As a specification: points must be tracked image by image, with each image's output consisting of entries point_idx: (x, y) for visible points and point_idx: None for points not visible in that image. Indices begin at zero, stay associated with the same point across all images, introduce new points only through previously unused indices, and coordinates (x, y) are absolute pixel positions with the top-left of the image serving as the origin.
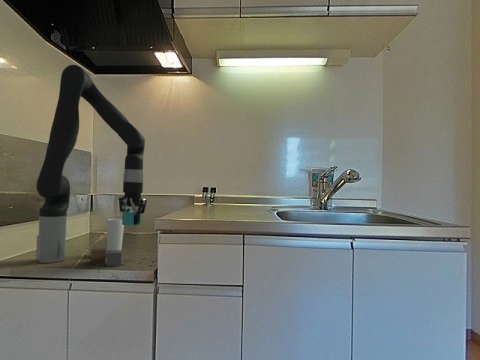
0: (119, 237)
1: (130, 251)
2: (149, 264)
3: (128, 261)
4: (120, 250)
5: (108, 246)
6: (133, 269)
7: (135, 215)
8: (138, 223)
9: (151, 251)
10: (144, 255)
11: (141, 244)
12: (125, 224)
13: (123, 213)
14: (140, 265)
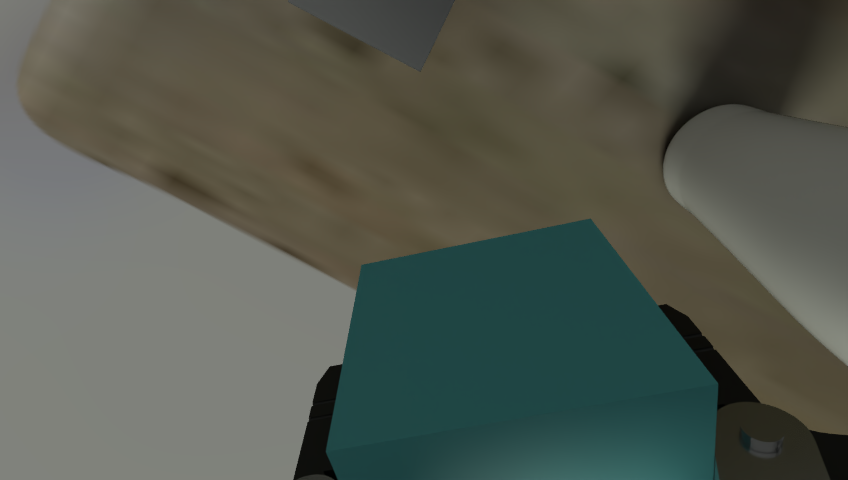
0: (741, 229)
1: (716, 305)
2: (232, 200)
3: (420, 129)
4: (396, 50)
5: (780, 115)
6: (135, 21)
7: (326, 474)
8: None
9: None
10: None
11: None
12: (501, 243)
13: (656, 365)
14: (237, 133)
